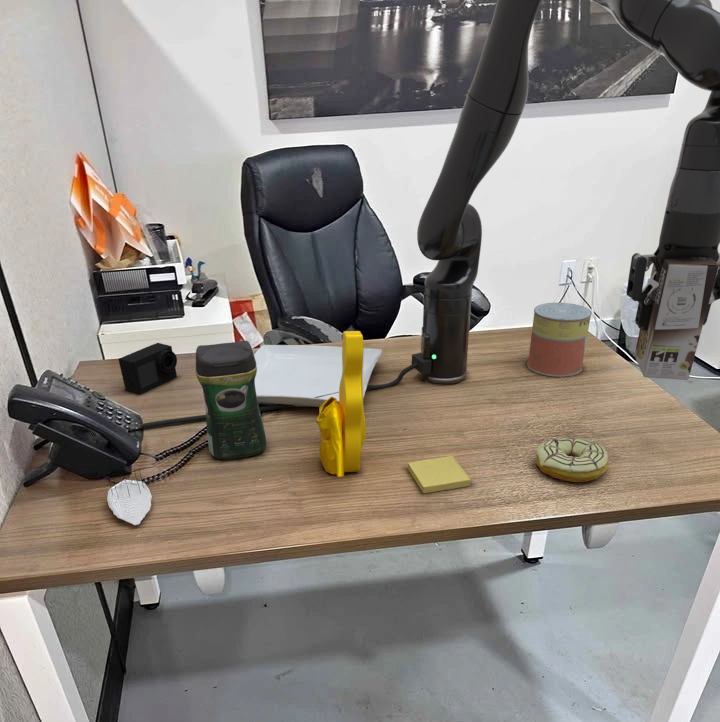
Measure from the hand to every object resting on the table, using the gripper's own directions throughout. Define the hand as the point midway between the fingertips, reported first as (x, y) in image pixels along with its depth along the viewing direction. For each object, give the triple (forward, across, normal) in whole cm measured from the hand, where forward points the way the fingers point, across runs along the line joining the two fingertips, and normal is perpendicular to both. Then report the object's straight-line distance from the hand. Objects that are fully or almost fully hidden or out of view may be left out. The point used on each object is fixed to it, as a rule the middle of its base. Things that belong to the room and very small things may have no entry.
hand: (668, 328), depth 94 cm
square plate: (+22, +56, -31) cm, 67 cm away
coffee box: (+6, 0, 0) cm, 6 cm away
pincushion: (+22, +79, +12) cm, 83 cm away
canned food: (+22, +4, -39) cm, 45 cm away
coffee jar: (+22, +66, -5) cm, 69 cm away
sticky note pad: (+22, +33, +5) cm, 40 cm away
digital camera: (+22, +88, -34) cm, 96 cm away
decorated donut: (+22, +12, +3) cm, 25 cm away
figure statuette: (+22, +48, +1) cm, 53 cm away
